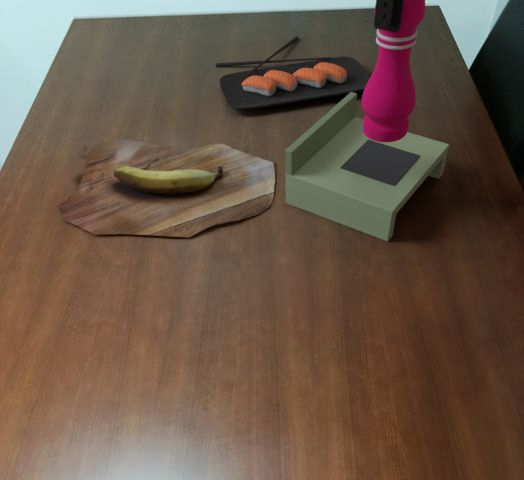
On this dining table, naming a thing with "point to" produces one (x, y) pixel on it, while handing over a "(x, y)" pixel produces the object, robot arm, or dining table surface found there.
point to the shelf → (357, 171)
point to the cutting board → (167, 189)
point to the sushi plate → (291, 81)
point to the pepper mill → (392, 79)
